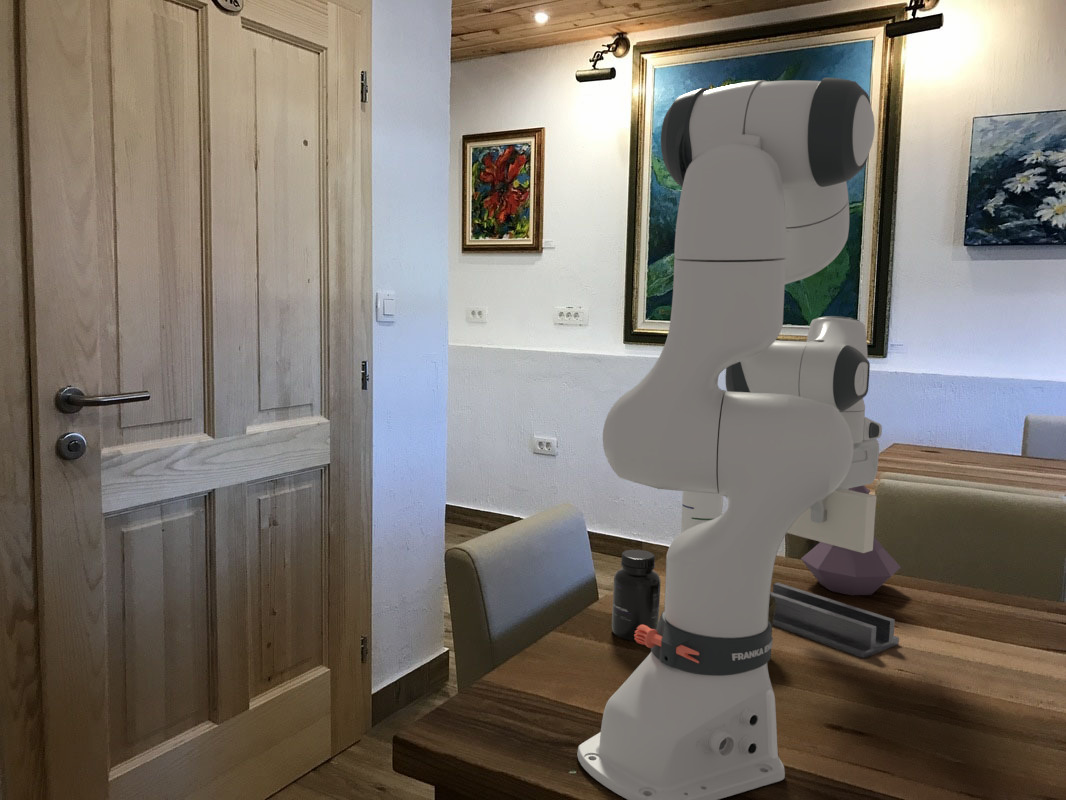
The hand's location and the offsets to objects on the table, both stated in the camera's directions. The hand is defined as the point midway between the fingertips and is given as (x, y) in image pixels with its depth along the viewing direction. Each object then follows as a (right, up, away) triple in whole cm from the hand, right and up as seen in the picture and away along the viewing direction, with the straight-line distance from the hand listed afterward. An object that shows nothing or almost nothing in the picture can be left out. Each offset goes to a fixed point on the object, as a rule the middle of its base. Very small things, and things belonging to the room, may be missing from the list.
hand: (826, 520), depth 127 cm
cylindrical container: (-13, -14, +28) cm, 34 cm away
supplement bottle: (-28, -17, -1) cm, 33 cm away
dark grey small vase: (-14, -18, -7) cm, 23 cm away
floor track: (0, -17, +2) cm, 17 cm away
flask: (+12, -15, +22) cm, 29 cm away
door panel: (0, -3, 0) cm, 3 cm away
